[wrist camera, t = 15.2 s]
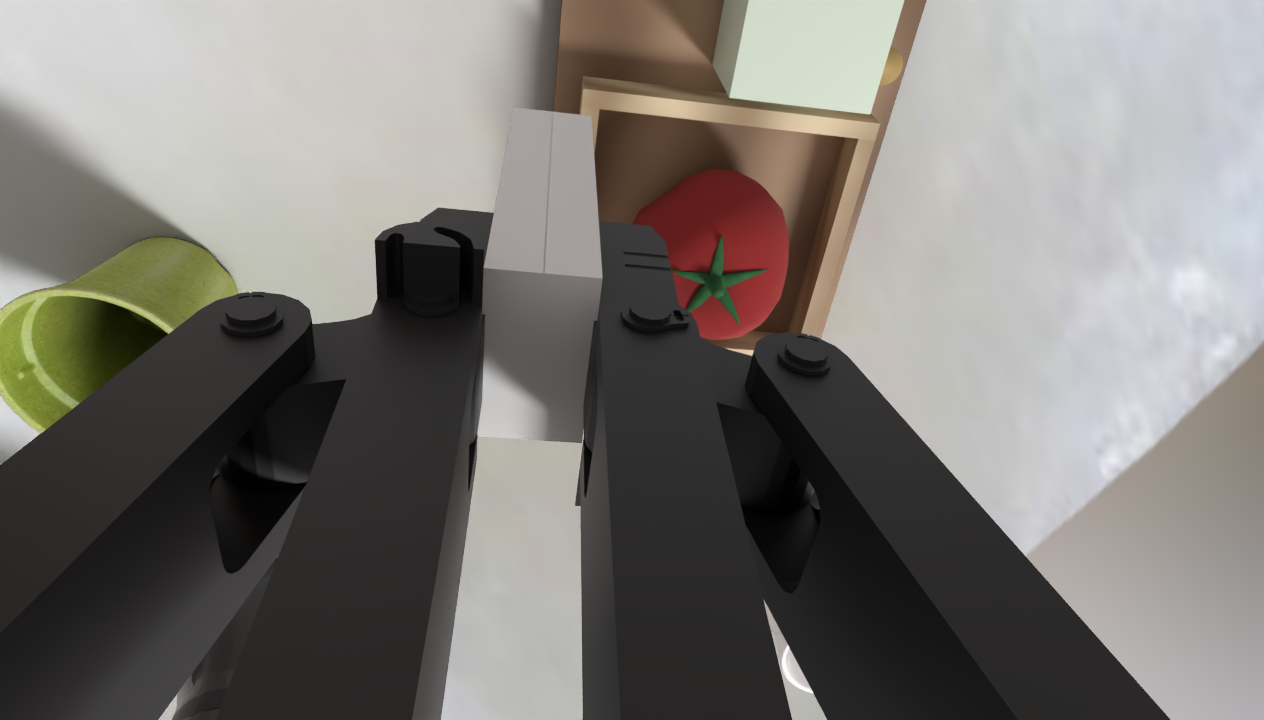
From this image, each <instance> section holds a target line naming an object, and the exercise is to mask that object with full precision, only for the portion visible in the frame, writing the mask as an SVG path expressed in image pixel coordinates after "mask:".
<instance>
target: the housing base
mask: <svg viewBox="0 0 1264 720" xmlns="http://www.w3.org/2000/svg"><path fill="white" fill-rule="evenodd" d="M723 3H724V0H562V10H561V22H560V35H559V47H558V60H557V73H556V85H555V98H554V110H553V112H560V113H569V114H578V115H587V116H592V130H593V145H594V159H595V174H596V189H597V203H598V218H599V221H606V222H617V223H627V224H632V223H633V221H634V219H635V217H636V216H637V214H638V212H639V211H640V210H641V209H642V208H644V207H645V206H646V205H648V204H649V203H651V202H652V201H654V200H655V199H656V198H658V197H659V196H661V195H662V194H663V193H665V192H666V191H668V190H669V189H671V188H672V187H673V186H675V185H676V184H678V183H679V182H680V181H682V180H683V179H685V178H686V177H688V176H690V175H693V174H696V173H699V172H703V171H706V170H709V169H712V168H713V169H724V170H735V171H738V172H740V173H742V174H744V175H746V176H748V177H750V178H751V179H753V180H755V181H757V182H758V183H759V184H760V185H762V186H763V187H764V188H765V189H766V190H767V191H768V193H769V194H770V195H771V196H772V197H773V199H774V200H775V201H776V202H777V204H778V205H779V206H780V207H781V208H782V210H783V214H784V218H785V221H786V225H787V229H788V234H789V257H788V267H787V274H786V279H785V283H784V287H783V291H782V295H781V298H780V300H779V301H778V303H777V304H776V306H775V307H774V308H773V310H772V311H771V313H770V314H769V316H768V317H767V318H766V320H765V321H764V322H763V323H762V324H761V325H760V326H758V327H756V328H755V329H753V330H751V331H750V332H748V333H747V334H745V335H743V336H741V337H735V338H729V339H719V340H709V339H706V338H702V337H701V338H702V339H704V340H706V341H708V342H710V343H712V344H714V345H716V346H719V347H722V348H725V349H728V350H732V351H736V352H739V353H743V354H747V355H751V356H752V355H753V352H754V348H755V345H756V342H757V341H759V340H760V339H762V338H763V337H765V336H766V335H770V334H776V333H781V332H785V333H803V334H807V335H808V336H810V335H812V336H815V337H818V338H820V339H821V337H822V333H823V330H824V327H825V324H826V321H827V317H828V314H829V311H830V308H831V305H832V301H833V298H834V295H835V292H836V289H837V285H838V282H839V279H840V276H841V273H842V269H843V266H844V263H845V260H846V257H847V253H848V250H849V247H850V244H851V240H852V237H853V234H854V231H855V228H856V224H857V221H858V218H859V215H860V212H861V208H862V205H863V202H864V199H865V196H866V192H867V189H868V186H869V183H870V180H871V176H872V173H873V170H874V167H875V164H876V160H877V157H878V154H879V151H880V148H881V144H882V141H883V138H884V135H885V132H886V128H887V125H888V122H889V119H890V116H891V112H892V109H893V106H894V103H895V100H896V96H897V93H898V90H899V87H900V84H901V80H902V77H903V74H904V71H905V68H906V64H907V61H908V58H909V55H910V52H911V48H912V45H913V42H914V39H915V36H916V32H917V29H918V26H919V23H920V19H921V16H922V13H923V10H924V7H925V3H926V0H904V3H903V7H902V10H901V14H900V17H899V20H898V24H897V27H896V30H895V34H894V37H893V40H892V44H891V47H890V50H889V54H888V57H887V60H886V64H885V67H884V71H883V74H882V77H881V81H880V84H879V87H878V91H877V94H876V97H875V101H874V104H873V107H872V111H871V114H861V113H853V112H844V111H836V110H828V109H819V108H811V107H802V106H794V105H786V104H777V103H769V102H760V101H752V100H744V99H735V98H729V96H728V94H727V92H726V90H725V88H724V86H723V85H722V83H721V81H720V79H719V77H718V75H717V73H716V71H715V69H714V67H713V65H712V63H713V58H714V53H715V47H716V42H717V36H718V31H719V25H720V20H721V14H722V9H723Z"/></svg>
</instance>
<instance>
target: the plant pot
mask: <svg viewBox="0 0 1264 720" xmlns="http://www.w3.org/2000/svg"><path fill="white" fill-rule="evenodd" d="M236 294H238V290H237V286H236V284H235V282H234V280H233V278H232V276H231V275H229V274H228V273H227V272H226V271H225V270H224V269H223V268H222V267H221V266H220V265H219V264H218V262H217V261H216V260H215V258H214V257H213V256H212V255H211V254H210V253H209V252H207V251H206V250H204V249H202V248H200V247H199V246H197V245H194V244H192V243H189V242H186V241H183V240H180V239H174V238H165V237H156V238H149V239H145V240H143V241H140V242H137V243H135V244H133V245H131V246H129V247H128V248H126V249H124V250H123V251H121V252H119V253H118V254H116V255H115V256H113V257H111V258H110V259H108V260H107V261H105V262H103V263H102V264H100V265H98V266H97V267H95V268H93V269H92V270H90V271H88V272H87V273H85V274H83V275H82V276H80V277H78V278H77V279H75V280H73V281H71V282H70V283H66V284H62V285H58V286H55V287H50V288H44V289H40V290H35V291H32V292H29V293H26V294H24V295H21V296H20V297H18V298H16V299H14V300H13V301H11V302H9V303H8V304H6V305H5V306H4V307H3V308H1V309H0V395H1V397H2V398H3V400H4V401H5V402H6V403H7V404H8V406H9V407H10V408H11V409H12V410H13V411H14V412H15V413H16V414H17V415H18V416H19V417H20V418H22V419H23V420H24V421H25V422H26V423H27V424H28V425H29V426H30V427H31V428H33V429H35V430H36V431H38V432H39V433H40V434H41V433H42V432H44V431H45V430H46V429H47V428H49V427H50V426H51V425H53V424H54V423H55V422H56V421H58V420H59V419H60V418H62V417H63V416H64V415H65V414H67V413H68V412H69V411H71V410H72V409H73V408H74V407H76V406H77V405H78V404H79V403H81V402H82V401H83V400H85V399H86V398H87V397H88V396H90V395H91V394H92V393H94V392H95V391H96V390H97V389H99V388H100V387H101V386H103V385H104V384H105V383H106V382H108V381H109V380H110V379H112V378H113V377H114V376H115V375H117V374H118V373H119V372H121V371H122V370H123V369H124V368H126V367H127V366H128V365H129V364H131V363H132V362H133V361H135V360H136V359H137V358H138V357H140V356H141V355H142V354H144V353H145V352H146V351H147V350H149V349H150V348H151V347H153V346H154V345H155V344H156V343H158V342H159V341H160V340H162V339H163V338H164V337H165V336H167V335H168V334H169V333H170V332H172V331H173V330H174V329H176V328H177V327H178V326H179V325H181V324H182V323H183V322H185V321H186V320H187V319H188V318H190V317H191V316H192V315H194V314H195V313H196V312H197V311H199V310H200V309H202V308H203V307H205V306H207V305H209V304H211V303H213V302H214V301H216V300H219V299H223V298H226V297H230V296H234V295H236Z"/></svg>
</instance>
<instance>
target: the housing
mask: <svg viewBox="0 0 1264 720" xmlns="http://www.w3.org/2000/svg"><path fill="white" fill-rule="evenodd" d="M903 3H904V0H724V3H723V9H722V14H721V20H720V25H719V31H718V36H717V42H716V47H715V53H714V58H713V63H712V65H713V67H714V69H715V71H716V73H717V75H718V77H719V79H720V81H721V83H722V85H723V86H724V88H725V90H726V92H727V94H728V96H729V98H735V99H744V100H752V101H760V102H769V103H777V104H786V105H794V106H802V107H811V108H819V109H828V110H836V111H844V112H853V113H861V114H871V111H872V107H873V104H874V101H875V97H876V94H877V91H878V87H879V84H880V81H881V77H882V74H883V71H884V67H885V64H886V60H887V57H888V54H889V50H890V47H891V44H892V40H893V37H894V34H895V30H896V27H897V24H898V20H899V17H900V14H901V10H902V7H903Z"/></svg>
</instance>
